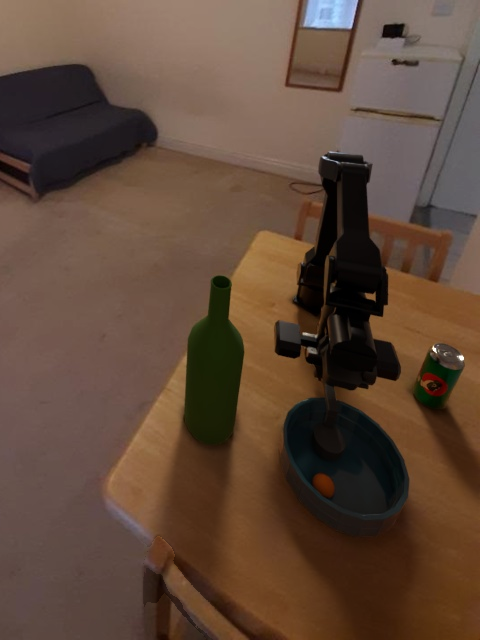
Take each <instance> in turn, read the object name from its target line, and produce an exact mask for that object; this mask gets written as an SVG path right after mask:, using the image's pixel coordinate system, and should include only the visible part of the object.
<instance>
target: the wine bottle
mask: <svg viewBox="0 0 480 640" xmlns="http://www.w3.org/2000/svg"><path fill="white" fill-rule="evenodd" d="M232 286H233V282H232V280H231V279H230V278H229V277H228V276H226V275H221V274H218V275H213V277H212V278H211V279H210V288H209V289H210V290H209V298H208V309H207V315H205V316H204V317H203V318H201V319H200V320H198V321H197V322H195V324H194V325H193V326H192V327H191V330H190V331H189V334H188V337H187V343H186V344H187V348H186V369H185V389H184V409H183V410H184V412H183V418H184V423H185V425H186V428H187V429H188V431H189V433H190V434H191V435H192V436H193V438H195V439H196V440H198V441H199V442H201V443H203V444H205V445H209V446H210V445H211V446H214V445H220V444H223V443H225V442H227V440H229V438H230V437H231V436H232V435H233V432H234V430H235V426H236V425H235V424H236V417H237V412H238V411H237V409H238V402H239V395H240V388H241V380H242V375H243V374H242V373H243V365H244V358H245V345H244V340H243V336H242V334H241V332H240V331H239V330H238V329H237V327H236V326H235V325H234V323H233V322H232V321H231V320H230V308H231V307H230V306H231V296H232Z"/></svg>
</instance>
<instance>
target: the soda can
mask: <svg viewBox="0 0 480 640" xmlns="http://www.w3.org/2000/svg"><path fill="white" fill-rule="evenodd" d="M465 366H466V364H465V358H464V355H463V354H462V353H461V352H460V351H459V349H457V348H456V347H454V346H452V345H450V344H448V343H445V342H444V343H443V342H437V343H434V344H433V345H431V346H429V347H428V350H427V352H426V355H425V357H424V359H423V362H422V364H421V366H420V369H419V371H418V374H417V376H416V378H415V381H414V383H413V385H412V393H413V395H414V396H415V398H416V399H417V400H418V402H419V403H421V404H422V405H424V406H425V407H427V408H430V409H434V410H441V409H442V410H443V409H445V407H446V406H447V403H448V401H449V399H450V397H451V395H452V393H453V392H454V389H455V387H456V386H457V383H458V381H459V380H460V377H461V375H462V373H463V371H464V369H465Z"/></svg>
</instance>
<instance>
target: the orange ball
mask: <svg viewBox="0 0 480 640" xmlns="http://www.w3.org/2000/svg"><path fill="white" fill-rule="evenodd" d="M313 487H314V488H315V489H316V490H317V491H318V492H319V493H320V494H321V495H322V496H323V497H325V498H330V497H332V496H333V494H334V491H335V488H334V484H333V482H332V480H331V479H330V478H329V477H328V476H327V475H326V474H323V473H318V474H316V475H315V476H314V478H313Z"/></svg>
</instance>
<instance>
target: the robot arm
mask: <svg viewBox="0 0 480 640" xmlns="http://www.w3.org/2000/svg"><path fill="white" fill-rule="evenodd" d="M372 171H373V163H372V162H371V161H368V160H365V159H364V155H363V154H356V153H349V152H348V153H347V152H346V153H345V152H339V151H338V152H336V151H327V153H325V154H323V156H321V155H320V158H319V161H318V169H317V173H318V175H319V176H320V183H321V186H322V188H323V190H324V197H323V202H322V207H321V212H320V217H319V221H318V228H317V230H316V231H317V232H316V236H315V242H314V246H312V247H311V248H310V249H309V250H307V251H306V252H305V253H304V255H303V256H304V257H303V261H302V262H299V263H298V264H297V266H296V286H297V291H296V295H295V296H294V297H293V298H292V300H291V301H292V302H294V304H296V305H298V306H300V307H301V308H303V309H304V310H306V311H307V312H309V313H310V314H312V315H313V316H315V317H318V316H320V319H319V323H317V325H316V334H314V333H309V332H302V334H301V328H300V323H295V322H290V321H286V320H285V321H284V320H281V319H277V320H276V322H274V327H273V342H274V353H275V354H276V355H277V356H280V357H285V358H289V359H293V360H295V359H297V358H300V357H301V353H302V347H303V352H304V360H305V362H306V363H307V364H309V365H312V366H314V370H315V369H316V373H317V378H316V379H317V381H318V382H322V374H323V380H324V382H325V383H326V384H327V385H329V386H334V388H335V387H336V388H338V389H339V388H340V389H344V390H347V391H352V392H353V391H355V390H357V388H359V389H363V390H369V387H370V386H372V387H373V386H374V385H375V384H376V382H377V378H380V379H384V380H387V381H394V382H396V381H398V380H399V378H400V376H401V373H402V365H401V363H400V360H399V357H398V354H397V350H396V348H395V345H394V344H393V343H392V342H391V341H387V340H381V339H377V338H374V337H373V332H372V327H371V323H370V319H371V316H375V317H380V318H383V317H384V312H385V310H384V309H385V306H388V305H389V274H388V272H387V268H386V266H385V265H384V264H383V263H382V262H383V261H382V255H381V249H380V248H379V246H378V245H377V244H376V243H375V242H374V241H373V240H372V238H371V235H370V222H369V221H370V220H369V201H368V184H369V183H370V181H371V177H372V176H371V175H372ZM366 294H368V295H374V294H375V300H374V299H371V298H368V297H367V296H366Z"/></svg>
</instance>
